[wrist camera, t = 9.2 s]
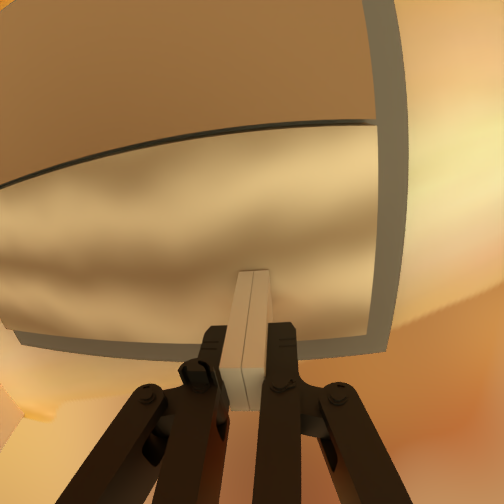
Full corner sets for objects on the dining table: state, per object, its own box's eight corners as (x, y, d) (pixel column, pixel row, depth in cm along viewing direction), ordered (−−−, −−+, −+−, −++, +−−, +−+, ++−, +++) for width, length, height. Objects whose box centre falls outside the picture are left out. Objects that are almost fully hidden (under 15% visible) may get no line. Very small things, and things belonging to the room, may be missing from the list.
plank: (-30, 199, 17) (-46, 208, 16) (365, 122, 14) (377, 125, 12) (16, 316, 23) (6, 328, 21) (359, 314, 19) (366, 334, 18)
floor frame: (-52, 65, 12) (-74, 69, 10) (364, -80, 8) (376, -102, 6) (25, 338, 26) (12, 356, 23) (382, 342, 22) (392, 370, 19)
